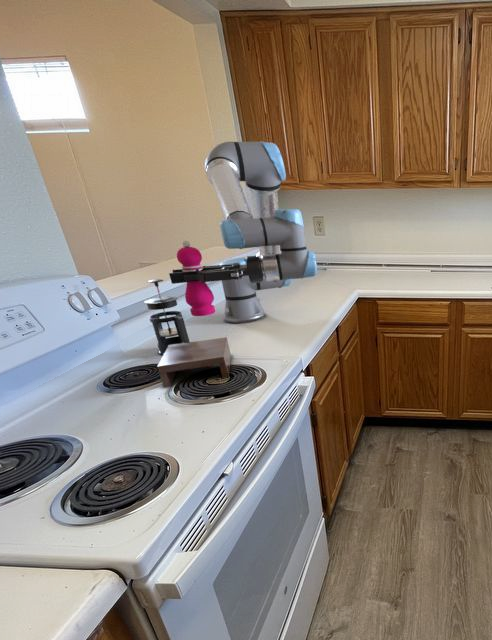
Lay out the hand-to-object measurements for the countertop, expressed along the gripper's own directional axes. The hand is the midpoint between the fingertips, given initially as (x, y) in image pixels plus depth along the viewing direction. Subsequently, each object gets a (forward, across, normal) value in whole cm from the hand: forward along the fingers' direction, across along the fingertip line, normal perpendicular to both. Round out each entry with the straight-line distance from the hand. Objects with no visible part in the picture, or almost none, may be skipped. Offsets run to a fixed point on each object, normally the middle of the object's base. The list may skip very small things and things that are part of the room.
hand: (172, 276), depth 113 cm
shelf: (-1, -5, -26) cm, 27 cm away
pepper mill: (-5, 0, -11) cm, 12 cm away
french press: (+7, +17, -26) cm, 32 cm away
